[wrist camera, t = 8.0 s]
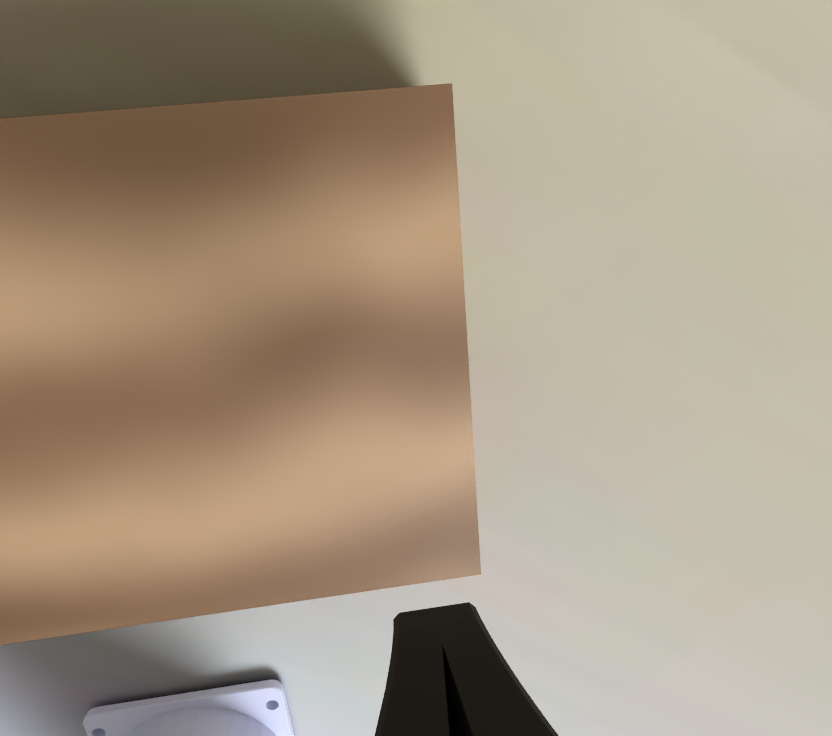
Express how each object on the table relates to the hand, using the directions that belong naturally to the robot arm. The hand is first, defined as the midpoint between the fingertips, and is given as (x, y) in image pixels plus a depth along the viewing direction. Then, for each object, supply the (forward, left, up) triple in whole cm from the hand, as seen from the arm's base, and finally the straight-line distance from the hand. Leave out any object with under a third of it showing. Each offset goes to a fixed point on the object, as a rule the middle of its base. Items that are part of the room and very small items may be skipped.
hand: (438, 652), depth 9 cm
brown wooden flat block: (+3, +6, -10) cm, 12 cm away
